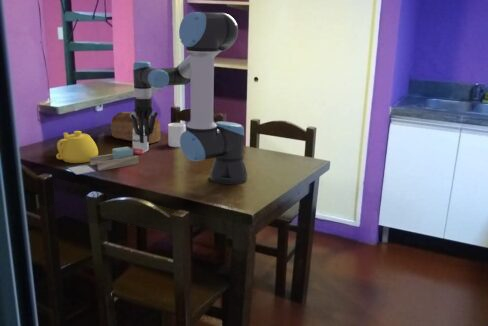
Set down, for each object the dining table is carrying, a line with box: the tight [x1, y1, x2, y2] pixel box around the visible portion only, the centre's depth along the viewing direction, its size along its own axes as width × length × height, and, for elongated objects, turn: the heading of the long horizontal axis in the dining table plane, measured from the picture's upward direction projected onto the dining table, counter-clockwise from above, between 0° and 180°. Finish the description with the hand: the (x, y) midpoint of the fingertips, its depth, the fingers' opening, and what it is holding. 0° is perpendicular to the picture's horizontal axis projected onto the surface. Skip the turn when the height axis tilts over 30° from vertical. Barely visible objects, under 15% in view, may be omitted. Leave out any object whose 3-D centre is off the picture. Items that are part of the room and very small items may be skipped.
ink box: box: [132, 126, 149, 155], centre depth 234 cm, size 9×5×12 cm, turn 168°
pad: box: [68, 164, 96, 175], centre depth 206 cm, size 10×8×1 cm
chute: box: [89, 153, 140, 172], centre depth 214 cm, size 10×18×4 cm, turn 128°
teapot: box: [56, 130, 99, 164], centre depth 220 cm, size 20×19×13 cm
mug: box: [167, 122, 187, 148], centre depth 249 cm, size 9×12×11 cm
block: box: [111, 146, 134, 159], centre depth 216 cm, size 6×7×6 cm
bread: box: [110, 111, 161, 145], centre depth 255 cm, size 12×28×14 cm, turn 59°
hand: (144, 149), depth 222 cm, fingers closed
